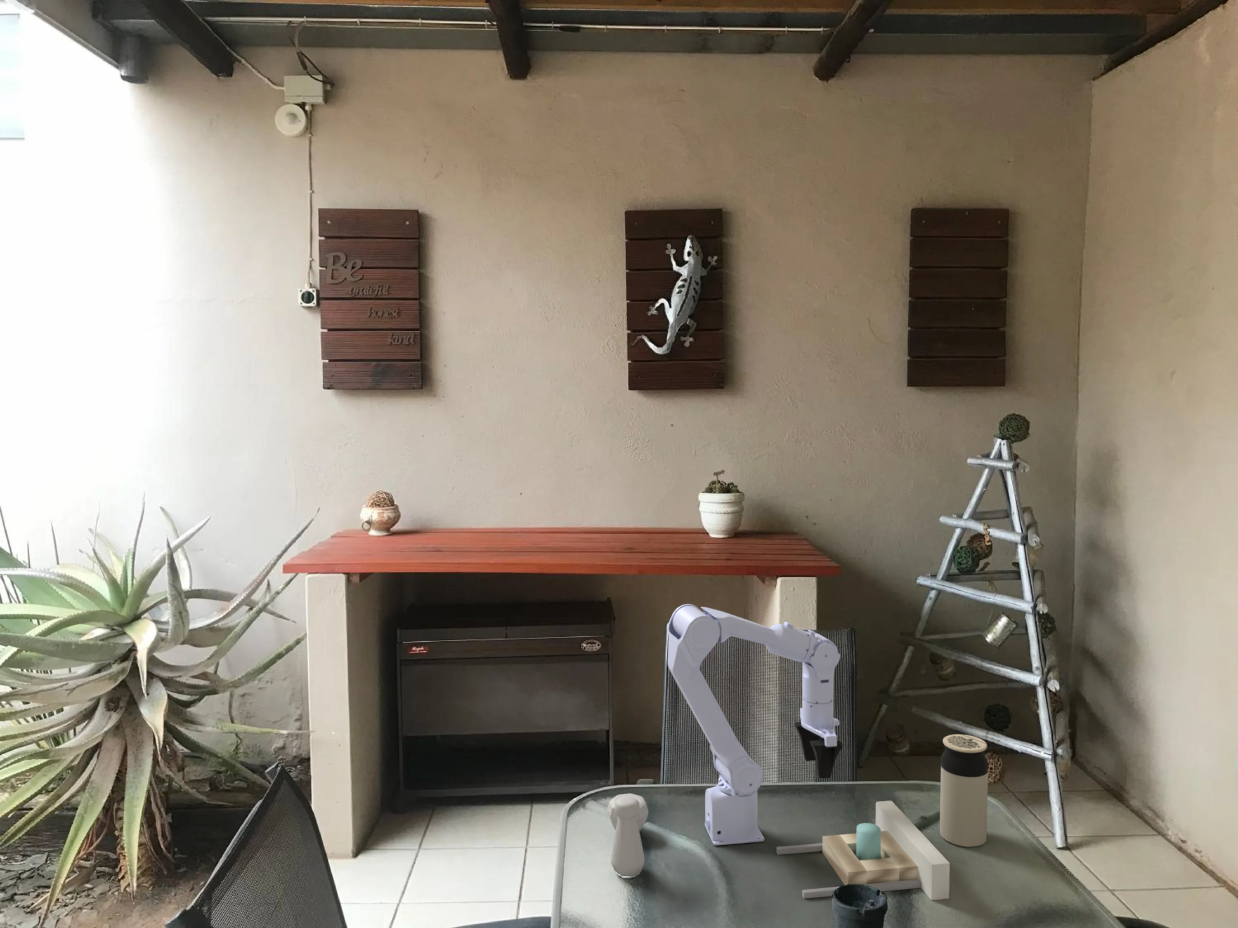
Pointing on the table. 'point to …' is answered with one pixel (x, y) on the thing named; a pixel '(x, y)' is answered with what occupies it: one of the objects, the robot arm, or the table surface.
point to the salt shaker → (627, 839)
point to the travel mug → (964, 790)
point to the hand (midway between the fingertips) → (817, 768)
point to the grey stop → (911, 840)
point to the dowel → (868, 842)
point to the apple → (640, 817)
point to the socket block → (881, 870)
